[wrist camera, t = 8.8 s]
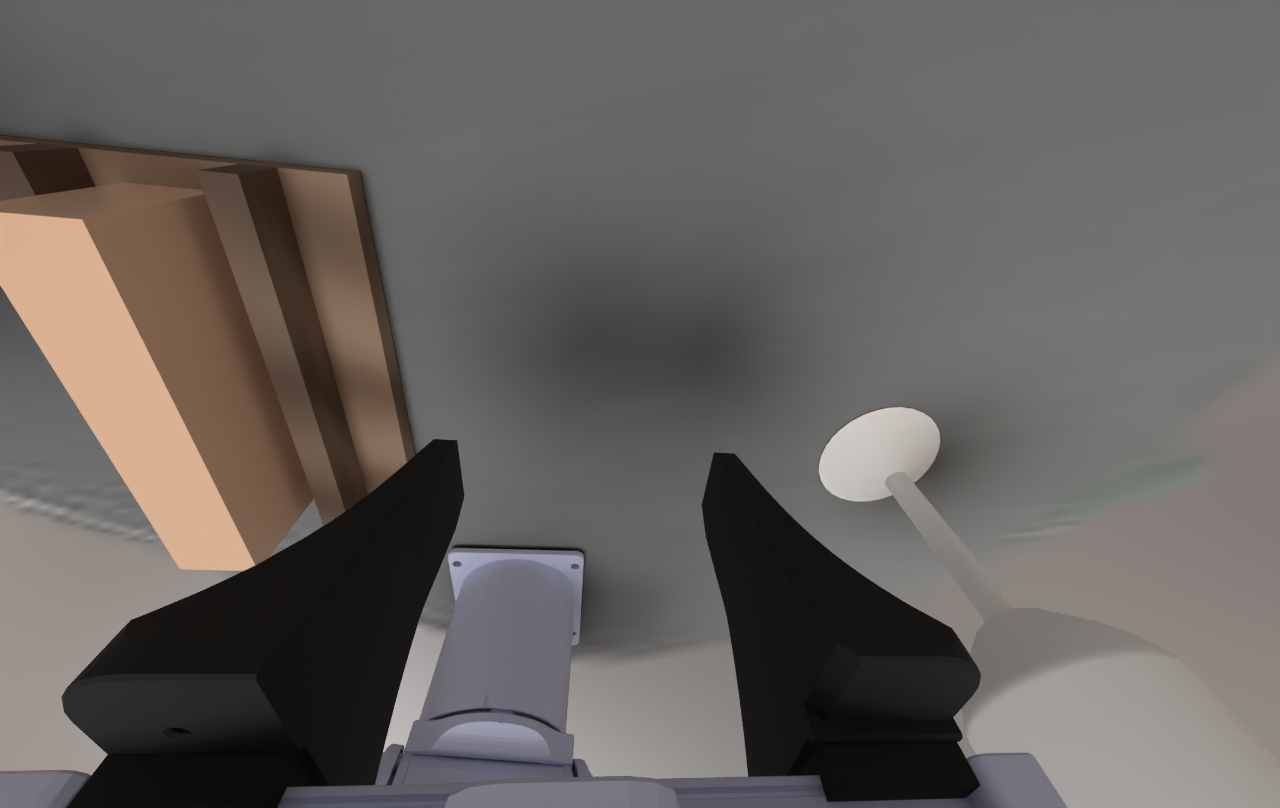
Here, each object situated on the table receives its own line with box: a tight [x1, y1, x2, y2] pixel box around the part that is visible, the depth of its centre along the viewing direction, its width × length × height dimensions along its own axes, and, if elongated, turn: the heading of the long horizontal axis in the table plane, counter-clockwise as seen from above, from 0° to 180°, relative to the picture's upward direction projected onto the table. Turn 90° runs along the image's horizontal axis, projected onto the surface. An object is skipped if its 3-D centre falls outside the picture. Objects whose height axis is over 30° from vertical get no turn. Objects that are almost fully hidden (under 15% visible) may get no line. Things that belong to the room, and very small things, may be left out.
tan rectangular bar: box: [0, 183, 314, 571], centre depth 18 cm, size 14×3×5 cm, turn 174°
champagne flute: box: [819, 407, 1280, 808], centre depth 16 cm, size 7×7×24 cm
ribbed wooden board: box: [0, 135, 415, 525], centre depth 20 cm, size 16×12×3 cm
